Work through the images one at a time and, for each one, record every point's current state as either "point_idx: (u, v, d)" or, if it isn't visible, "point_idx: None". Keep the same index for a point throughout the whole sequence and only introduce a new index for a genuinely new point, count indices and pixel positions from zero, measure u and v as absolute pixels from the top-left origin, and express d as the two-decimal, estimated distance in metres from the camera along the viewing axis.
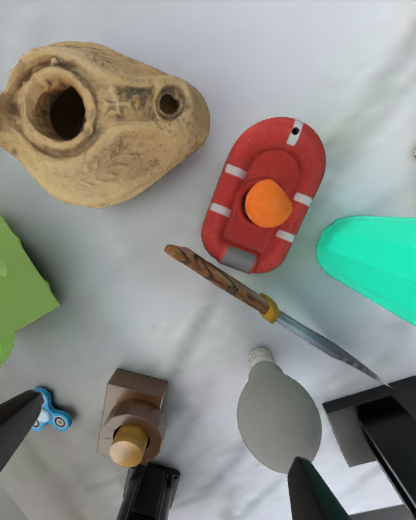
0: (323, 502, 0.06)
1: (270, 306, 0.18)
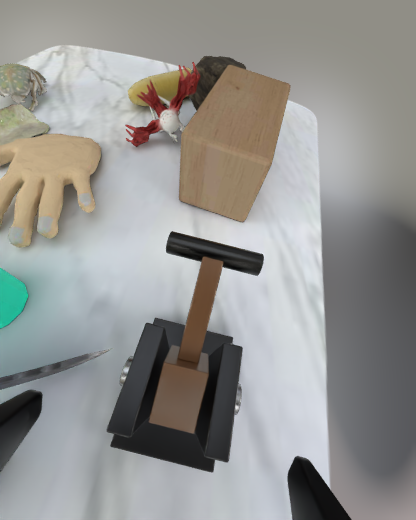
0: (322, 502, 0.06)
1: None
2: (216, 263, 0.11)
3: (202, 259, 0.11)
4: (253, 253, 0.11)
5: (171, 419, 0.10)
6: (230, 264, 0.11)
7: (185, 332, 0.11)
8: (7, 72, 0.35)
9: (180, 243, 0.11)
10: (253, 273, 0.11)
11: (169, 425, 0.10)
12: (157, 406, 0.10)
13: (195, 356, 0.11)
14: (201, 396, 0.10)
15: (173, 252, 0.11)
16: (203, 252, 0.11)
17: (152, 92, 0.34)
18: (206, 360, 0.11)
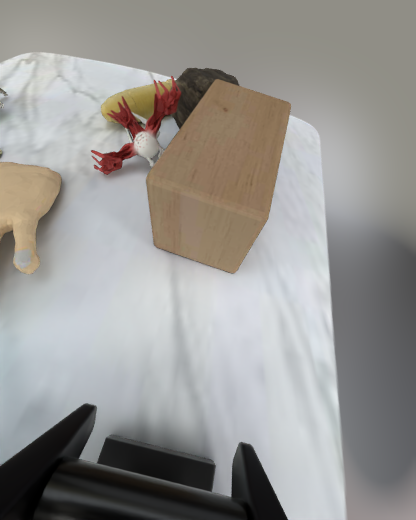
0: (253, 484, 0.06)
1: None
2: None
3: None
4: None
5: None
6: None
7: None
8: None
9: (62, 518, 0.05)
10: None
11: None
12: None
13: None
14: None
15: None
16: None
17: (125, 110, 0.29)
18: None
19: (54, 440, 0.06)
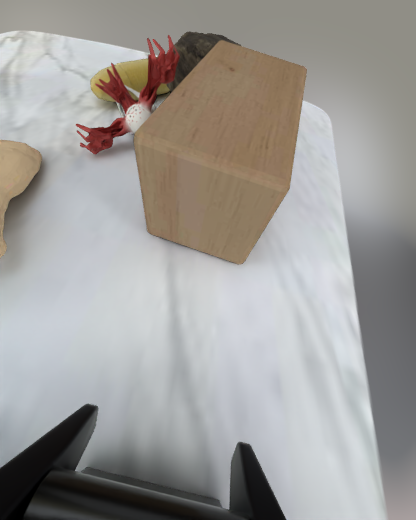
0: (251, 484, 0.06)
1: None
2: None
3: None
4: None
5: None
6: None
7: None
8: None
9: None
10: None
11: None
12: None
13: None
14: None
15: None
16: None
17: (115, 80, 0.25)
18: None
19: (56, 441, 0.06)
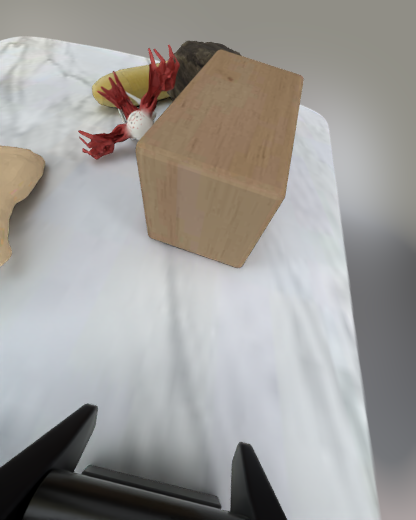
0: (252, 484, 0.06)
1: None
2: None
3: None
4: None
5: None
6: None
7: None
8: None
9: None
10: None
11: None
12: None
13: None
14: None
15: None
16: None
17: (117, 87, 0.26)
18: None
19: (55, 440, 0.06)
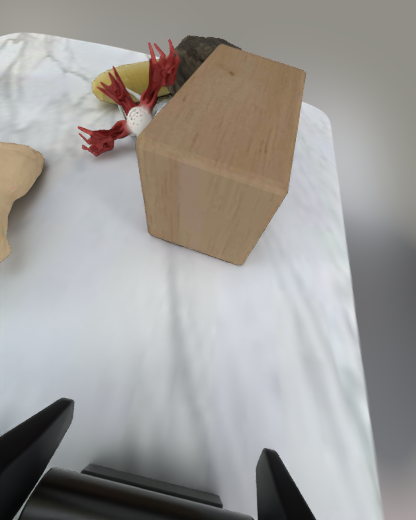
0: (283, 492, 0.06)
1: None
2: None
3: None
4: None
5: None
6: None
7: None
8: None
9: None
10: None
11: None
12: None
13: None
14: None
15: None
16: None
17: (117, 83, 0.25)
18: None
19: (26, 433, 0.06)
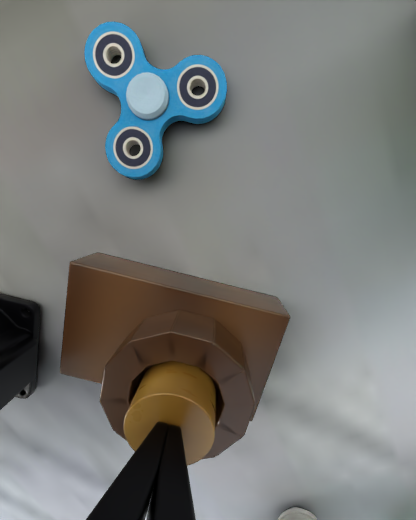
0: (166, 463, 0.06)
1: None
2: None
3: None
4: None
5: None
6: None
7: None
8: None
9: None
10: None
11: None
12: None
13: None
14: None
15: None
16: None
17: None
18: None
19: (145, 463, 0.06)
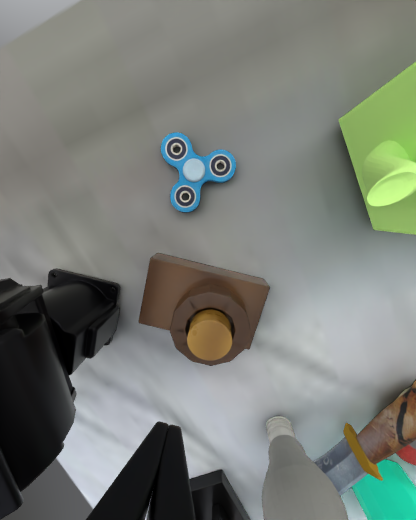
0: (166, 463, 0.06)
1: (375, 463, 0.19)
2: None
3: None
4: None
5: None
6: None
7: None
8: None
9: None
10: None
11: None
12: None
13: None
14: None
15: None
16: None
17: None
18: None
19: (145, 463, 0.06)
